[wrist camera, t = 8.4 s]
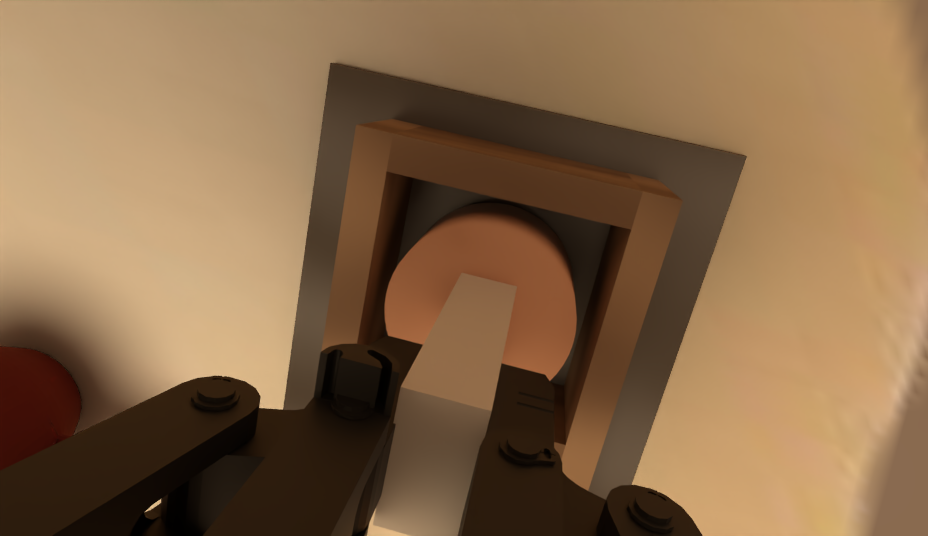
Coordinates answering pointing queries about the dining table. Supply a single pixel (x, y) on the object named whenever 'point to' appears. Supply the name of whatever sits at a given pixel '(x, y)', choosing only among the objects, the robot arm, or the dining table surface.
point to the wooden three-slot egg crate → (545, 196)
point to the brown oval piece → (495, 258)
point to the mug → (34, 404)
